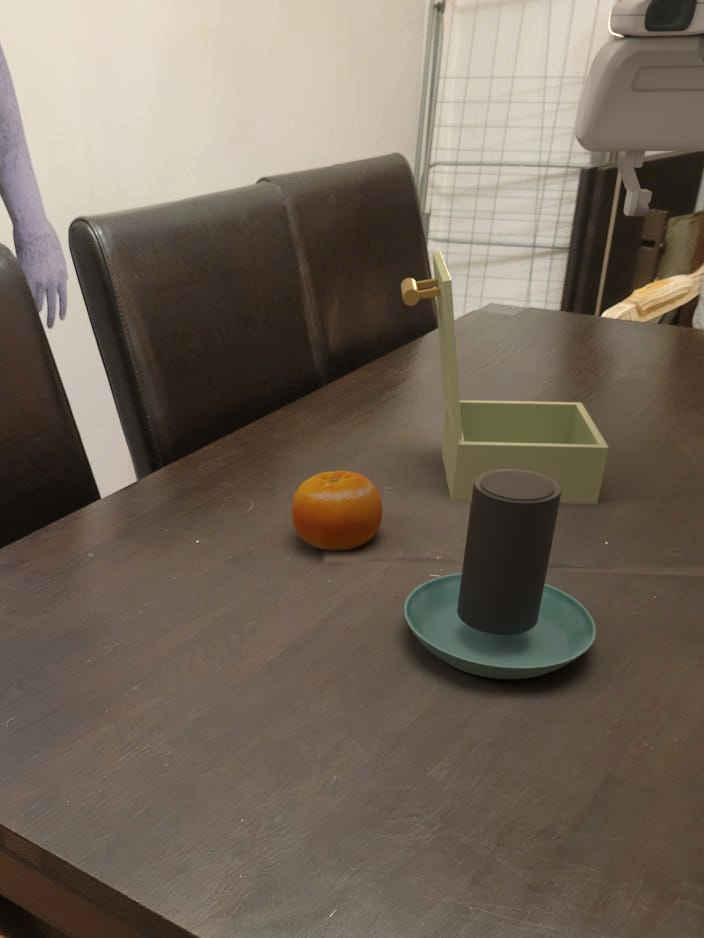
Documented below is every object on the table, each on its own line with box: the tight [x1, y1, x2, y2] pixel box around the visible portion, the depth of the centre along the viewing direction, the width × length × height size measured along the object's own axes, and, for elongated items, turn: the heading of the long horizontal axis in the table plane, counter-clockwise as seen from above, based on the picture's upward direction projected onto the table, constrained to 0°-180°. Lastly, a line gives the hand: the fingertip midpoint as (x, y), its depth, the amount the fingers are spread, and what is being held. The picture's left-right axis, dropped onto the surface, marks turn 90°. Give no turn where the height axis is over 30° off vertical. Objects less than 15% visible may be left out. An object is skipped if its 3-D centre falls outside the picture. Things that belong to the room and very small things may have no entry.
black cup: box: [457, 469, 562, 635], centre depth 73 cm, size 6×6×11 cm
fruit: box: [290, 470, 383, 551], centre depth 91 cm, size 8×8×8 cm
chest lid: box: [400, 250, 462, 440], centre depth 97 cm, size 15×14×4 cm
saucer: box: [403, 572, 597, 680], centre depth 76 cm, size 15×15×3 cm
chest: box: [440, 399, 610, 505], centre depth 102 cm, size 15×14×7 cm
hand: (697, 215), depth 75 cm, fingers open, 8 cm apart
